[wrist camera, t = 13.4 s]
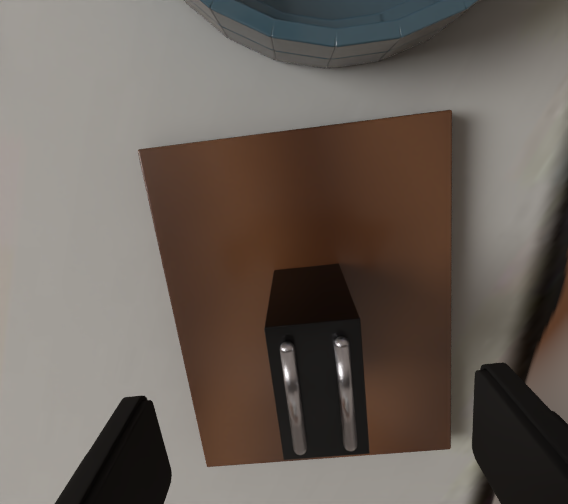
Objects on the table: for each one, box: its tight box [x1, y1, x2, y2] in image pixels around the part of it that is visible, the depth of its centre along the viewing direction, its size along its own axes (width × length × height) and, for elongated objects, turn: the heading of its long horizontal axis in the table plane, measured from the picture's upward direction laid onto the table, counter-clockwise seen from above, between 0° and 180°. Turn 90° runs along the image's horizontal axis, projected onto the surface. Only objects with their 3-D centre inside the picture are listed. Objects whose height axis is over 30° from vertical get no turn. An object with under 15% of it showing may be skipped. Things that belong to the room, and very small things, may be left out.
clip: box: [264, 264, 370, 460], centre depth 16 cm, size 3×6×6 cm, turn 7°
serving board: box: [138, 110, 452, 467], centre depth 19 cm, size 14×18×1 cm
